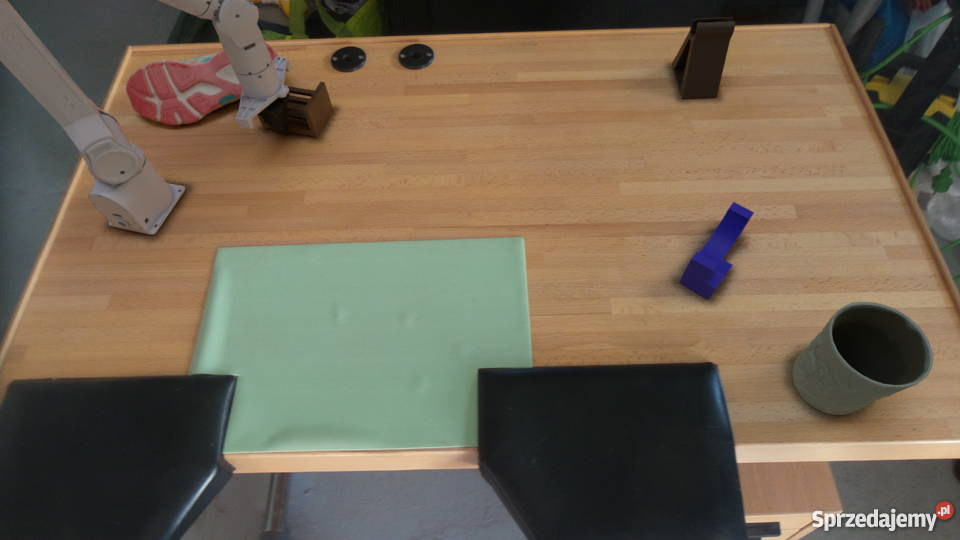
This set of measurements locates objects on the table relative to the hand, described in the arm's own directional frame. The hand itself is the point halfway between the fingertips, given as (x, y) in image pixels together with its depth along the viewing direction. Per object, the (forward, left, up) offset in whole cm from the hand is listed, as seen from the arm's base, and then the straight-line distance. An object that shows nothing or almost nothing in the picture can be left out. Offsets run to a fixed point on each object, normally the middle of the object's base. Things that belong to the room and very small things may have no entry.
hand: (281, 130), depth 95 cm
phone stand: (+29, -66, -1) cm, 72 cm away
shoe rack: (+4, -1, -1) cm, 4 cm away
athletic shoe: (+5, +15, -1) cm, 16 cm away
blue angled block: (-9, -71, -1) cm, 72 cm away
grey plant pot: (-24, -85, -1) cm, 88 cm away
